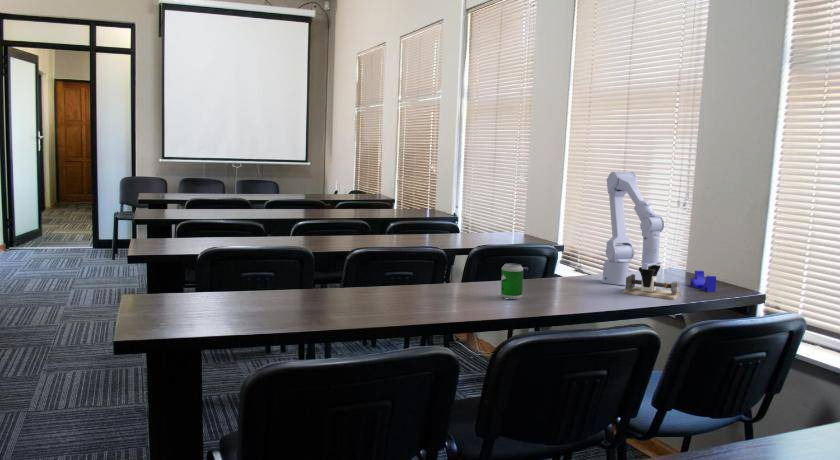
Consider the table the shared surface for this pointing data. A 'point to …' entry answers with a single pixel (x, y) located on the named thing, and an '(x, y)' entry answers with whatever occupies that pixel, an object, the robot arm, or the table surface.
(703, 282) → the blue stepped block
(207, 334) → the table surface
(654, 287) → the cord end block
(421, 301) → the table surface
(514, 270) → the soda can
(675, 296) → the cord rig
